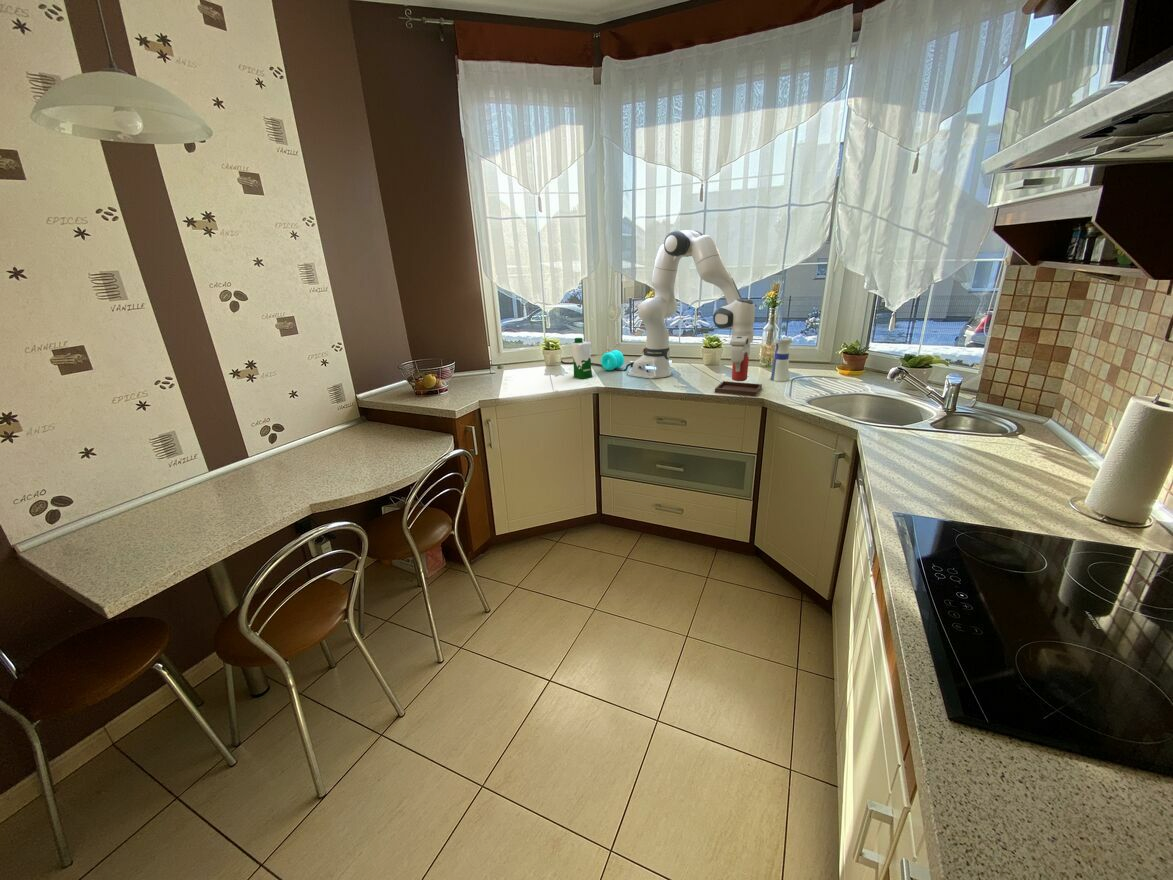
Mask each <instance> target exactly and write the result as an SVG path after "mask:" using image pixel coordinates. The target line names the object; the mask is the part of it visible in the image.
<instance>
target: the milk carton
mask: <svg viewBox="0 0 1173 880" xmlns="http://www.w3.org/2000/svg"><path fill="white" fill-rule="evenodd" d="M592 344H593V343H592V342H590V341H585V340H583V337H575V338H574V342H571V343H570V346H571V350H572V360H573V361H572V362H573V363H574V364H573V378H575V379H580V380H584V379H589V378H592V377H593V371H592V365H591V363H592V356H591V355H592V354H591V353H592V352H591V349H592Z"/></svg>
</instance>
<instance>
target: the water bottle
mask: <svg viewBox="0 0 1173 880" xmlns="http://www.w3.org/2000/svg"><path fill="white" fill-rule="evenodd" d="M787 329H788V327H787V326H786V325H783V327H780V330H781V333H783V332H785V333H787ZM791 344H793V339H792V338H791V337H783V338H782V339H778V338H776V337H775V338H774V340H773V342H772V345H775V349H774V351H773V352H774V356H773V357H774V358H773V359H772V360H773V361H772V368H771V375H770V380H771V381H773V382H787V381H789V369H790V359H789V358H790V353H791V350H790V345H791Z"/></svg>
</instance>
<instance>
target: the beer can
mask: <svg viewBox="0 0 1173 880" xmlns="http://www.w3.org/2000/svg"><path fill="white" fill-rule="evenodd" d="M749 359H750V356H749V355H748V353H747V352H746V354H744V360H743V361H742V362H741V364H740V367H741V369H740V371H739V372H736V367H735V363H732V367H731V368H732V369H731V380H733V382H744V381H747V380H748V373H749V361H750V360H749Z"/></svg>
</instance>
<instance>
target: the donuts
mask: <svg viewBox="0 0 1173 880" xmlns="http://www.w3.org/2000/svg"><path fill="white" fill-rule="evenodd" d="M624 363H625V357H624V354H623V353H622V352H621V351H620V350H617V349H613V350H611V351H609V352H605V353H603V354H602V356H601V358H600V364H601V365H602V366H603V367H602V366H601V367H602V368H603V369H604V370H606V371H609V372H611V371H614V370H613V369H620V368H621V367H623V365H624Z"/></svg>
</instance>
